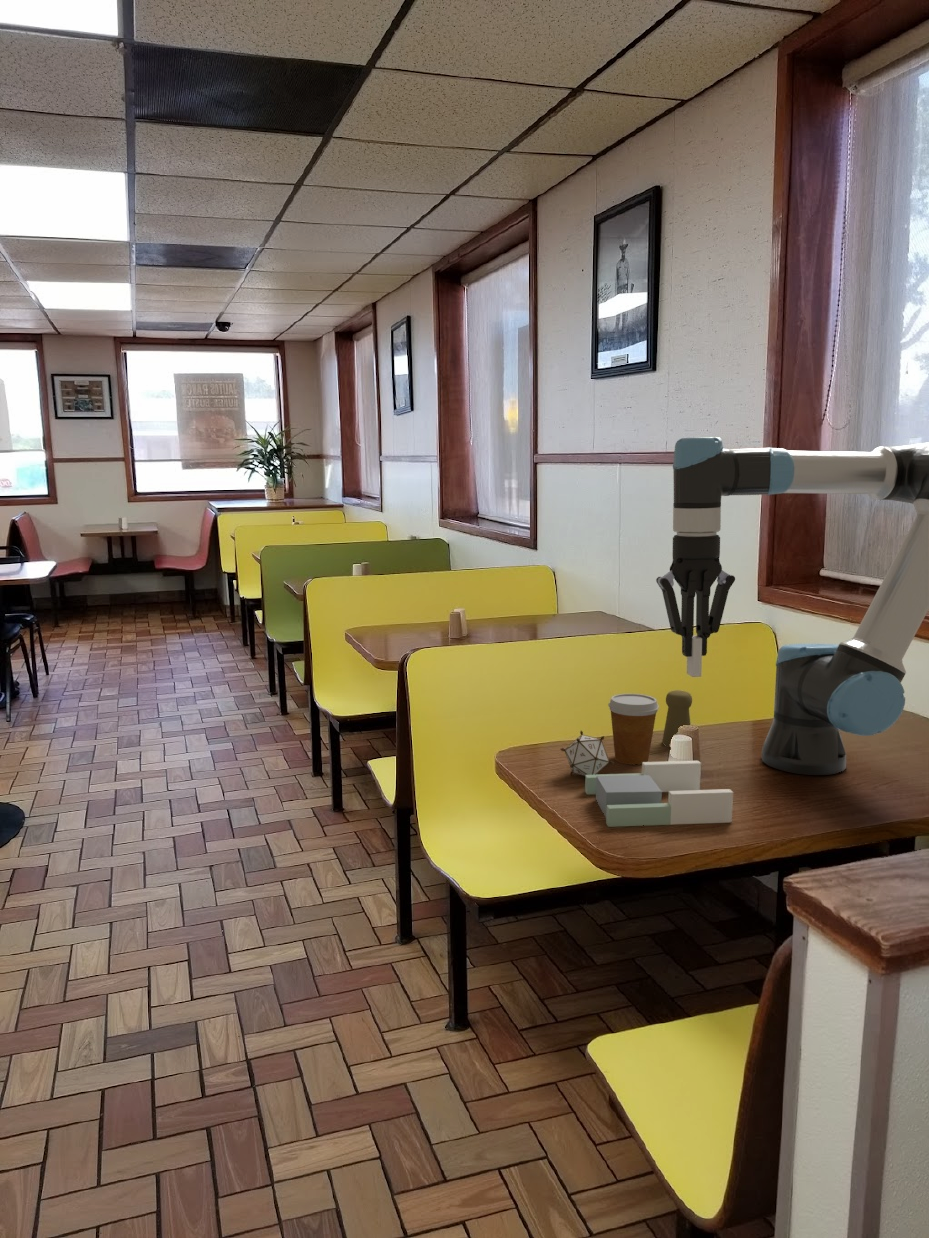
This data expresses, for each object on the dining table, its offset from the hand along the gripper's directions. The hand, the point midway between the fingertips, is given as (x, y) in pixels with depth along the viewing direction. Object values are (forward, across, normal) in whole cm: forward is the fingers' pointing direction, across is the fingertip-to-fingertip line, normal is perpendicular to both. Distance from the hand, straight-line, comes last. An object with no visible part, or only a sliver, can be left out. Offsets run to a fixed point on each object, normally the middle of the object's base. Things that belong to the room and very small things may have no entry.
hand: (693, 674), depth 156 cm
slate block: (+21, +12, +4) cm, 25 cm away
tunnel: (+21, +8, +3) cm, 23 cm away
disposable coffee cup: (+22, +4, -21) cm, 30 cm away
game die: (+21, +15, -12) cm, 29 cm away
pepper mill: (+22, -8, -30) cm, 38 cm away
